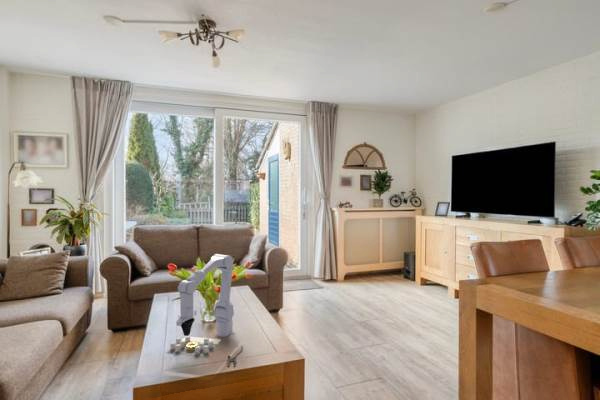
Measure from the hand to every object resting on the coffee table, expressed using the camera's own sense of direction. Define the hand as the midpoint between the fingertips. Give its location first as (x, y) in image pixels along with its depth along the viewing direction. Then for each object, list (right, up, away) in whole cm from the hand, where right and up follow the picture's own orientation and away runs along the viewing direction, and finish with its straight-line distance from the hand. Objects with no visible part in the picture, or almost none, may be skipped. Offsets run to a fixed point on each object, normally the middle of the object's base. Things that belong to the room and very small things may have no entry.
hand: (186, 335), depth 151 cm
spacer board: (+1, -10, +8) cm, 13 cm away
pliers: (+22, -11, +1) cm, 25 cm away
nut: (+1, -9, +5) cm, 10 cm away
